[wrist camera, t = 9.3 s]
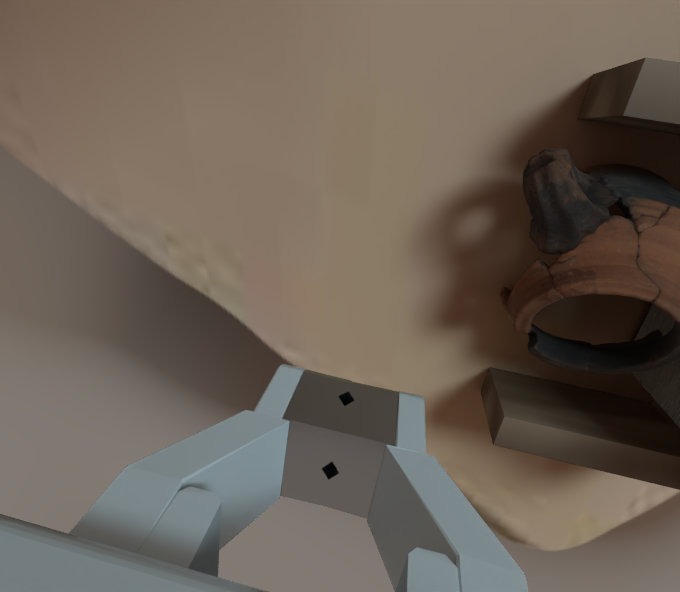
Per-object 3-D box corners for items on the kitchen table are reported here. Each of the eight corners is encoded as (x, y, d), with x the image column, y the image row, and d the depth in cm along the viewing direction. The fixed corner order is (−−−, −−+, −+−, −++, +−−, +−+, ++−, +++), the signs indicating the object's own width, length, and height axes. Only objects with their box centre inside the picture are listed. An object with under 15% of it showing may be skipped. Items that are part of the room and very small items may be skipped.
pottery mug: (723, 237, 22) (768, 369, 17) (548, 290, 29) (546, 395, 24) (623, 56, 17) (647, 167, 13) (443, 170, 24) (414, 270, 20)
